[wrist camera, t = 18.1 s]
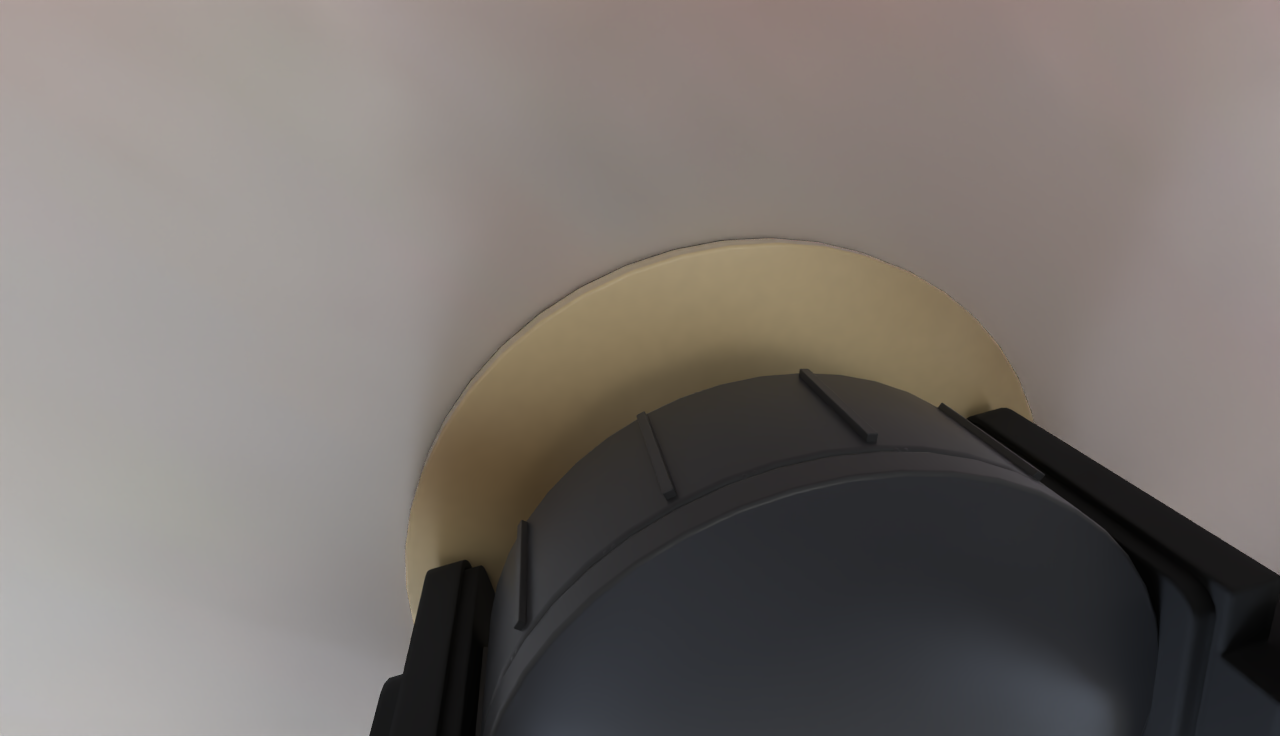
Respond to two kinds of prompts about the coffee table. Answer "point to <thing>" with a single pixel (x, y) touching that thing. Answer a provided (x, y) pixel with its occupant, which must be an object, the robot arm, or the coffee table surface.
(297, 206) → the coffee table surface
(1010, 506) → the lid
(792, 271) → the coaster
